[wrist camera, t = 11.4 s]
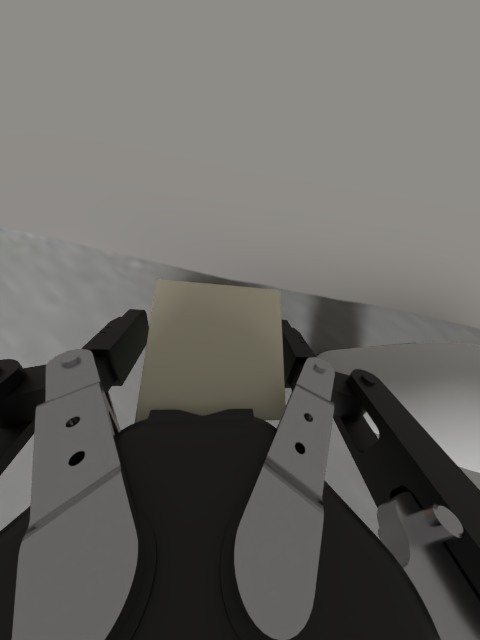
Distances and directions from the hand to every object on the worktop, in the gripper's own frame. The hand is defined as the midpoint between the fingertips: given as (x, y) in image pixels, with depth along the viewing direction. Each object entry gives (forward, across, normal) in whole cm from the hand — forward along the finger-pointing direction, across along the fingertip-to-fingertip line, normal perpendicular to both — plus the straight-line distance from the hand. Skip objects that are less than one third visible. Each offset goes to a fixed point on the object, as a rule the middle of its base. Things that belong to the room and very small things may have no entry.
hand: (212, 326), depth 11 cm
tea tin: (+4, 0, +6) cm, 7 cm away
